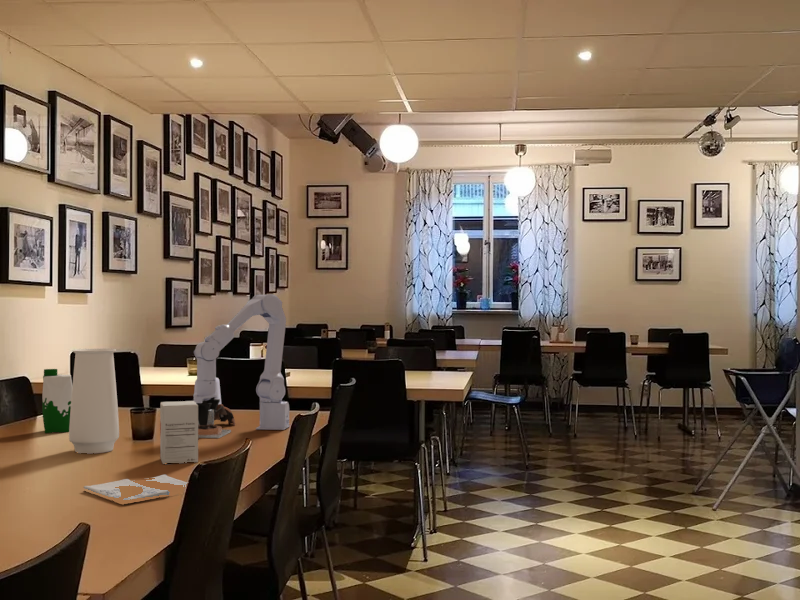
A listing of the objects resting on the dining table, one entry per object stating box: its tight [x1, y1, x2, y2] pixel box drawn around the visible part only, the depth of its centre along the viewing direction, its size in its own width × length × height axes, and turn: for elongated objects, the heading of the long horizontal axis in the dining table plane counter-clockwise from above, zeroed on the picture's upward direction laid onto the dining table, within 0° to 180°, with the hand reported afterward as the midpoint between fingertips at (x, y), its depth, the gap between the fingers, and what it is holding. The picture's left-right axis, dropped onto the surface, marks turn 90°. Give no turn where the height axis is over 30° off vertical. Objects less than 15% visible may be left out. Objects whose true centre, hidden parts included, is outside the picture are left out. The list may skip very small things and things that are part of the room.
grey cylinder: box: [198, 409, 215, 429], centre depth 250 cm, size 5×5×7 cm
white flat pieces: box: [83, 474, 188, 500], centre depth 173 cm, size 19×20×2 cm
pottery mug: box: [214, 403, 236, 427], centre depth 271 cm, size 12×10×8 cm
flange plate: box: [198, 424, 232, 439], centre depth 250 cm, size 12×12×2 cm
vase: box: [68, 348, 120, 455], centre depth 223 cm, size 13×13×28 cm
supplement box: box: [159, 400, 199, 465], centre depth 208 cm, size 9×9×15 cm
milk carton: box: [41, 368, 73, 434], centre depth 259 cm, size 9×9×20 cm
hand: (206, 423), depth 250 cm, fingers open, 5 cm apart
